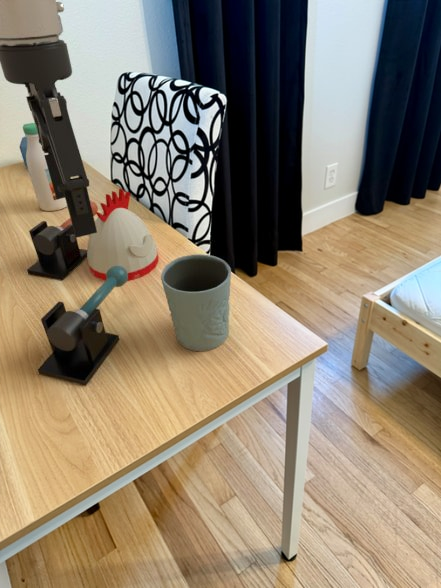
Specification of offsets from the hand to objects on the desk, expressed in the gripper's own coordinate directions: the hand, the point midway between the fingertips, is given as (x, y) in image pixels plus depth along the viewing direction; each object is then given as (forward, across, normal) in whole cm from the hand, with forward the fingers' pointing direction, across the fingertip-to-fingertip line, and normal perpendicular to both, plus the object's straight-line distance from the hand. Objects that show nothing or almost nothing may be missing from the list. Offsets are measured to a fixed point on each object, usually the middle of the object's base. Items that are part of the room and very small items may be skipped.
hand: (75, 214), depth 61 cm
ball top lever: (+16, -2, +1) cm, 16 cm away
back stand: (+20, +23, +2) cm, 31 cm away
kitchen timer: (+20, +16, -9) cm, 27 cm away
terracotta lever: (+16, +27, -2) cm, 31 cm away
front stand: (+20, -6, +4) cm, 21 cm away
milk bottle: (+20, +52, -1) cm, 56 cm away
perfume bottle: (+20, +85, -3) cm, 88 cm away
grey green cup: (+20, -11, -13) cm, 26 cm away
